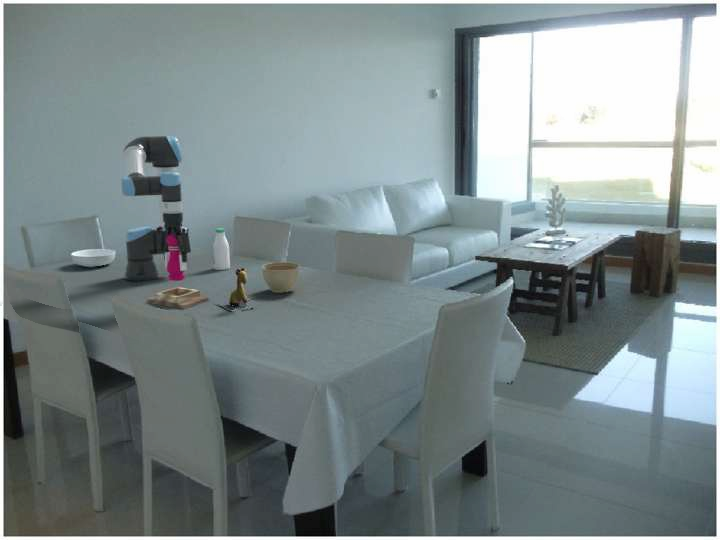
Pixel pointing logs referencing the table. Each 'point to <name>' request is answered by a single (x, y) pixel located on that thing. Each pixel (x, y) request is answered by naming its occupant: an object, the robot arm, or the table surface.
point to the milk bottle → (221, 251)
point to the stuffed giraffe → (238, 292)
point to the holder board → (178, 298)
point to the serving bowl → (93, 257)
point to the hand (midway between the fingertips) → (176, 269)
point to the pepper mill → (174, 259)
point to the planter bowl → (281, 276)
